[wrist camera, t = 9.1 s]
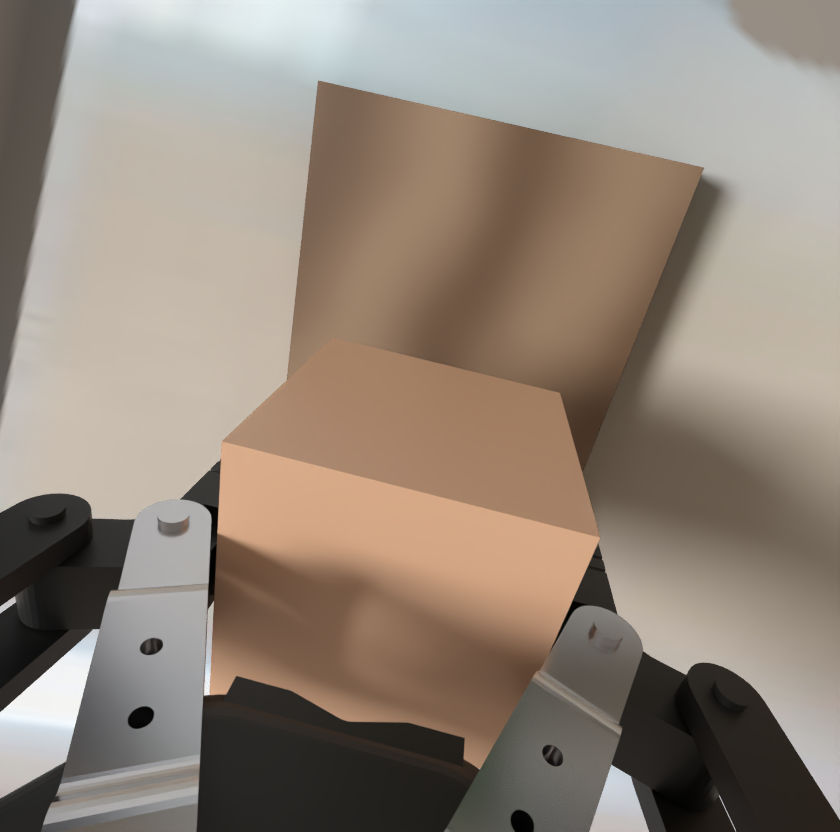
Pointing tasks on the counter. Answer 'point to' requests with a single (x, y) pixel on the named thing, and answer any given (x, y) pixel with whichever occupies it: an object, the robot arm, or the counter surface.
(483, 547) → the peach cube
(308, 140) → the counter surface
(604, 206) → the stub board
